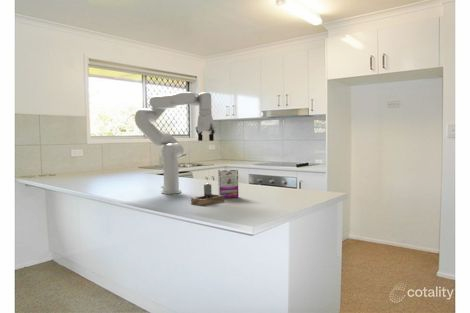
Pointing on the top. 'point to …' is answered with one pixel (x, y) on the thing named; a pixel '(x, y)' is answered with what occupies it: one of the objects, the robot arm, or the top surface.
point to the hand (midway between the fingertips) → (205, 140)
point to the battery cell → (207, 191)
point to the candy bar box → (228, 183)
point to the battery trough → (207, 200)
